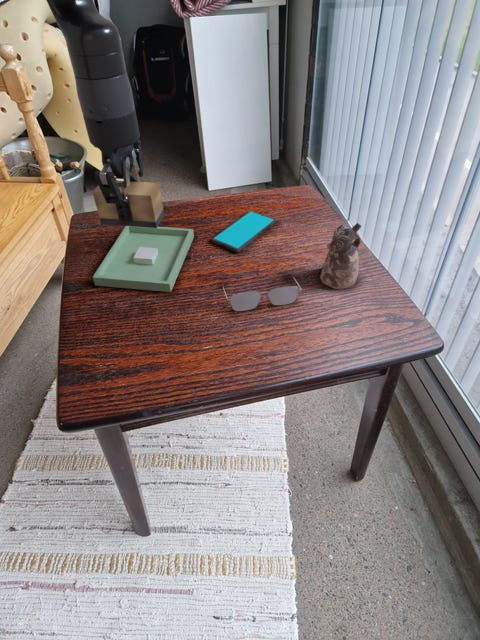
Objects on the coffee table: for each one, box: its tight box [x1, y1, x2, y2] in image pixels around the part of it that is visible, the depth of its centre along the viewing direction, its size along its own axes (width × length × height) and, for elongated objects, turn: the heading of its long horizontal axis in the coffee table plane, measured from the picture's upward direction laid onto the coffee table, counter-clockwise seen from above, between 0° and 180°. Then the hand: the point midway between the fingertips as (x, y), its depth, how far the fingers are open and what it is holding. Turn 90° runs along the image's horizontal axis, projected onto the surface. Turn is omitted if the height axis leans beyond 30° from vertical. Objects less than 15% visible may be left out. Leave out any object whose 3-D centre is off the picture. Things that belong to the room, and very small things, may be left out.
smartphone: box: [211, 210, 276, 253], centre depth 96 cm, size 7×1×15 cm
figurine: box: [319, 222, 362, 290], centre depth 80 cm, size 7×7×12 cm
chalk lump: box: [133, 247, 158, 265], centre depth 88 cm, size 4×4×2 cm
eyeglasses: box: [221, 273, 302, 312], centre depth 80 cm, size 14×8×4 cm, turn 102°
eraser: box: [91, 180, 165, 228], centre depth 72 cm, size 10×4×6 cm, turn 81°
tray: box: [92, 226, 195, 293], centre depth 89 cm, size 16×20×2 cm
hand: (131, 212), depth 73 cm, fingers closed on eraser, 4 cm apart
